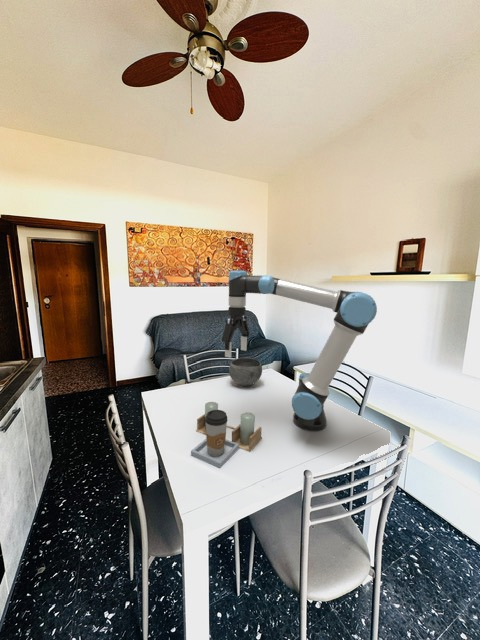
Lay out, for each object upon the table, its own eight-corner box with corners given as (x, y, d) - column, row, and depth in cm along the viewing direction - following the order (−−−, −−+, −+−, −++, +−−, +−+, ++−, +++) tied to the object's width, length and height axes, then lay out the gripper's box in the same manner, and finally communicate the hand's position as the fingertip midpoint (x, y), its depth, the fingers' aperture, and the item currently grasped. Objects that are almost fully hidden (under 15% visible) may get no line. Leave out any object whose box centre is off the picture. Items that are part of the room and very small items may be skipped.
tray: (239, 450, 102) (239, 444, 102) (219, 470, 91) (219, 463, 91) (211, 439, 109) (211, 433, 108) (190, 457, 98) (190, 450, 97)
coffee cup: (209, 461, 94) (210, 421, 92) (201, 448, 102) (202, 411, 100) (230, 455, 98) (231, 417, 96) (221, 443, 106) (222, 407, 104)
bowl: (225, 389, 160) (225, 365, 158) (232, 377, 180) (232, 355, 178) (260, 392, 156) (260, 368, 154) (262, 379, 177) (263, 358, 175)
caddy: (261, 439, 109) (262, 426, 108) (249, 453, 100) (250, 439, 99) (210, 422, 122) (210, 409, 121) (195, 432, 113) (195, 419, 112)
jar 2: (256, 441, 107) (257, 416, 105) (246, 447, 103) (247, 421, 101) (246, 434, 111) (247, 410, 109) (236, 440, 107) (237, 415, 105)
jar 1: (220, 427, 116) (220, 403, 115) (212, 433, 112) (213, 409, 110) (210, 423, 119) (210, 400, 118) (202, 429, 114) (202, 405, 113)
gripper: (243, 304, 128) (242, 346, 131) (213, 307, 107) (213, 358, 110) (257, 305, 124) (256, 348, 127) (229, 309, 103) (228, 361, 106)
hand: (236, 353), depth 119 cm, fingers open, 13 cm apart
